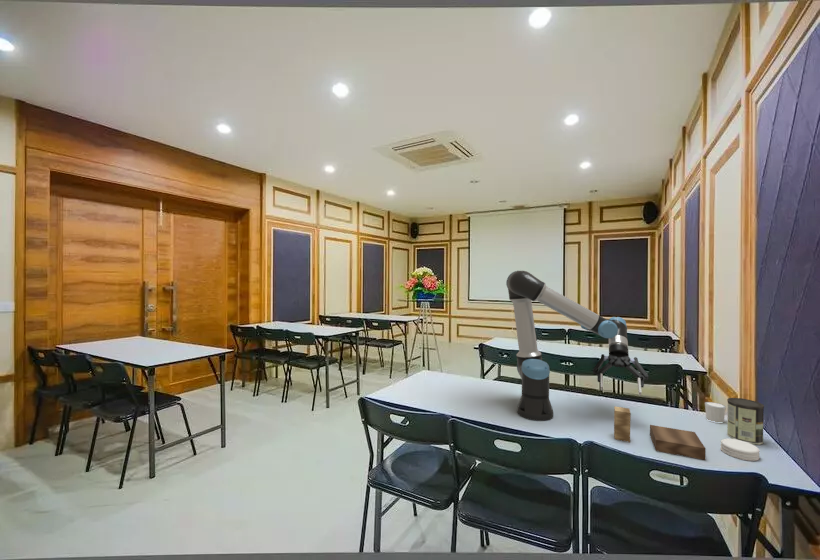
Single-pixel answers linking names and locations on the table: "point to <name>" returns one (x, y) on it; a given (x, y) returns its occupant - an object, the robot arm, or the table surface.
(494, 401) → the table surface
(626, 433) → the oak block
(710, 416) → the white tapered cup
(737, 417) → the coffee can
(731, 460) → the table surface
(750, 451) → the coaster
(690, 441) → the walnut block
